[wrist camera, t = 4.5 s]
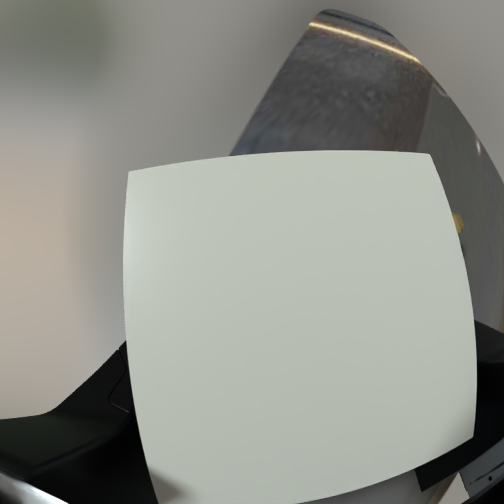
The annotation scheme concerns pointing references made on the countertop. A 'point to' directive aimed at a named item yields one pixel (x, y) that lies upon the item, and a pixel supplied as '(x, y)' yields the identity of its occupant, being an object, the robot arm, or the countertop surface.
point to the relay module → (295, 324)
